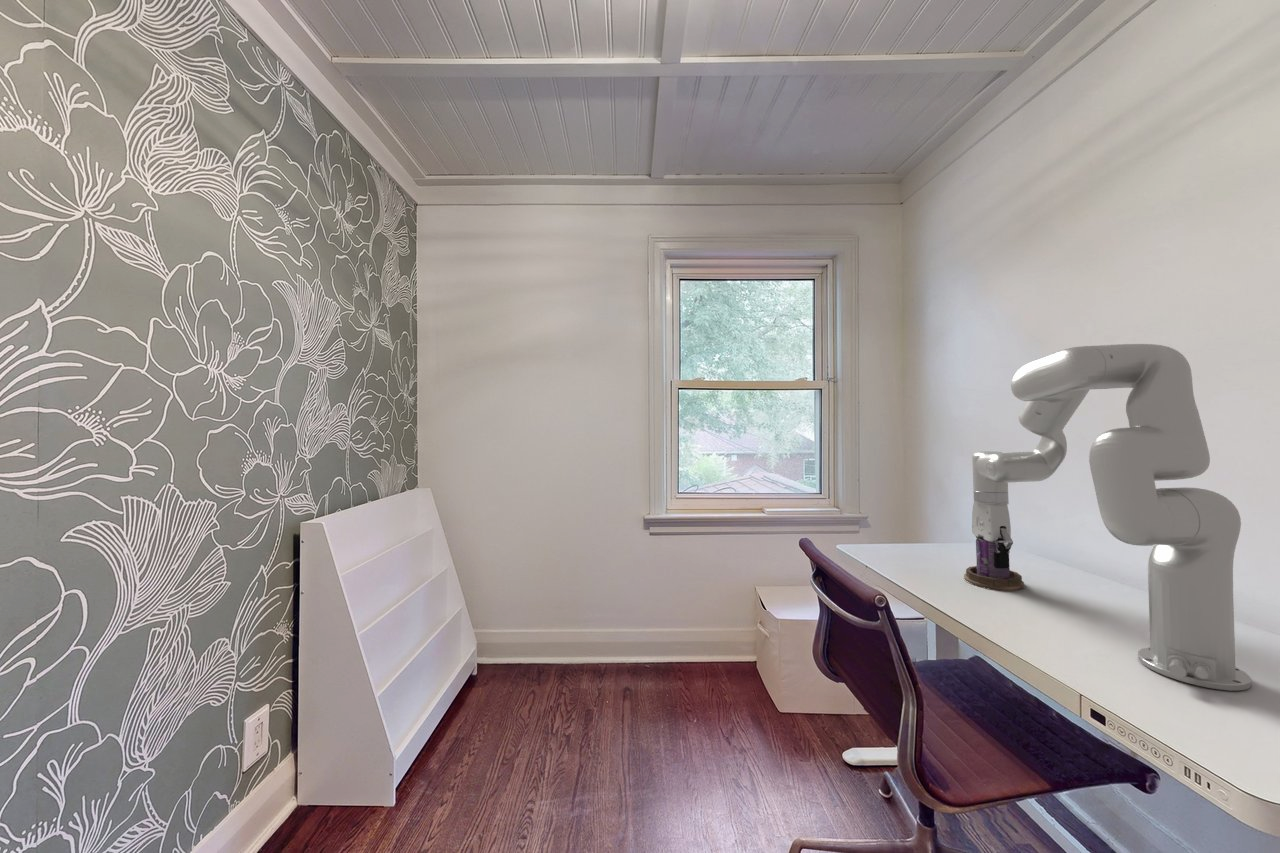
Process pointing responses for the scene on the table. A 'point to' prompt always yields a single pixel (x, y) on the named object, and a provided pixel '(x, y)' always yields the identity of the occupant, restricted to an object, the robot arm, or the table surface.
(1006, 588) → the walnut coaster
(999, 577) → the beverage can
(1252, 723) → the table surface
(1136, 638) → the table surface
